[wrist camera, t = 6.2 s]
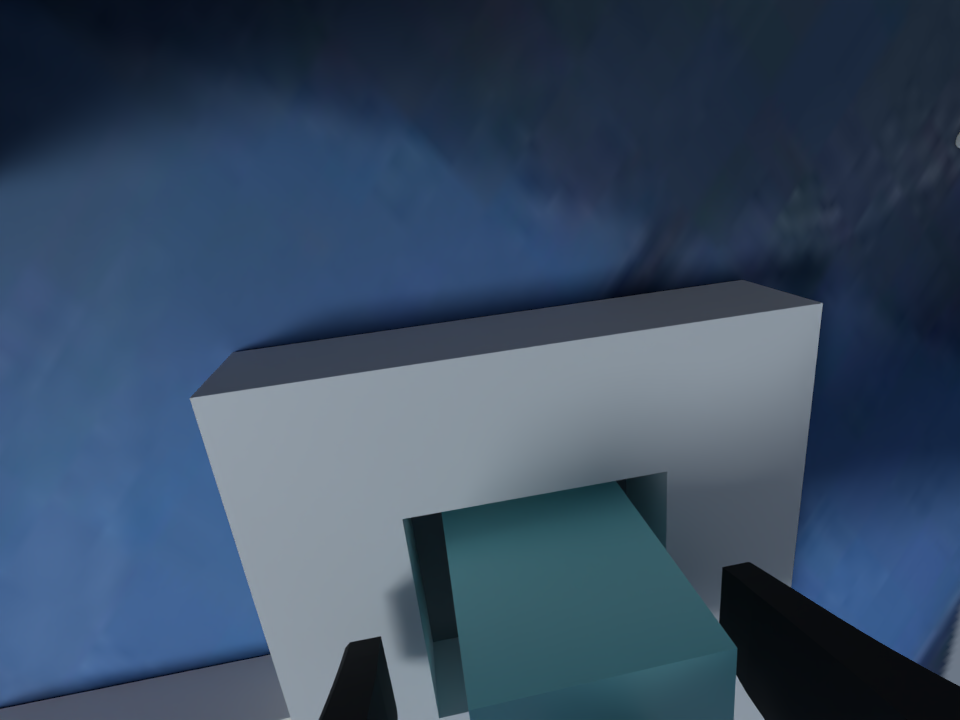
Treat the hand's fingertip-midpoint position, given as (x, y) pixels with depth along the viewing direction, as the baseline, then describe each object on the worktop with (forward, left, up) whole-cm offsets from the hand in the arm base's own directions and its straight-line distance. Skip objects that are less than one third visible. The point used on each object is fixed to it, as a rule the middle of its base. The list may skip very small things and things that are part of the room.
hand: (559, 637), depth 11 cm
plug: (0, 0, -3) cm, 3 cm away
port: (0, 0, -4) cm, 4 cm away
